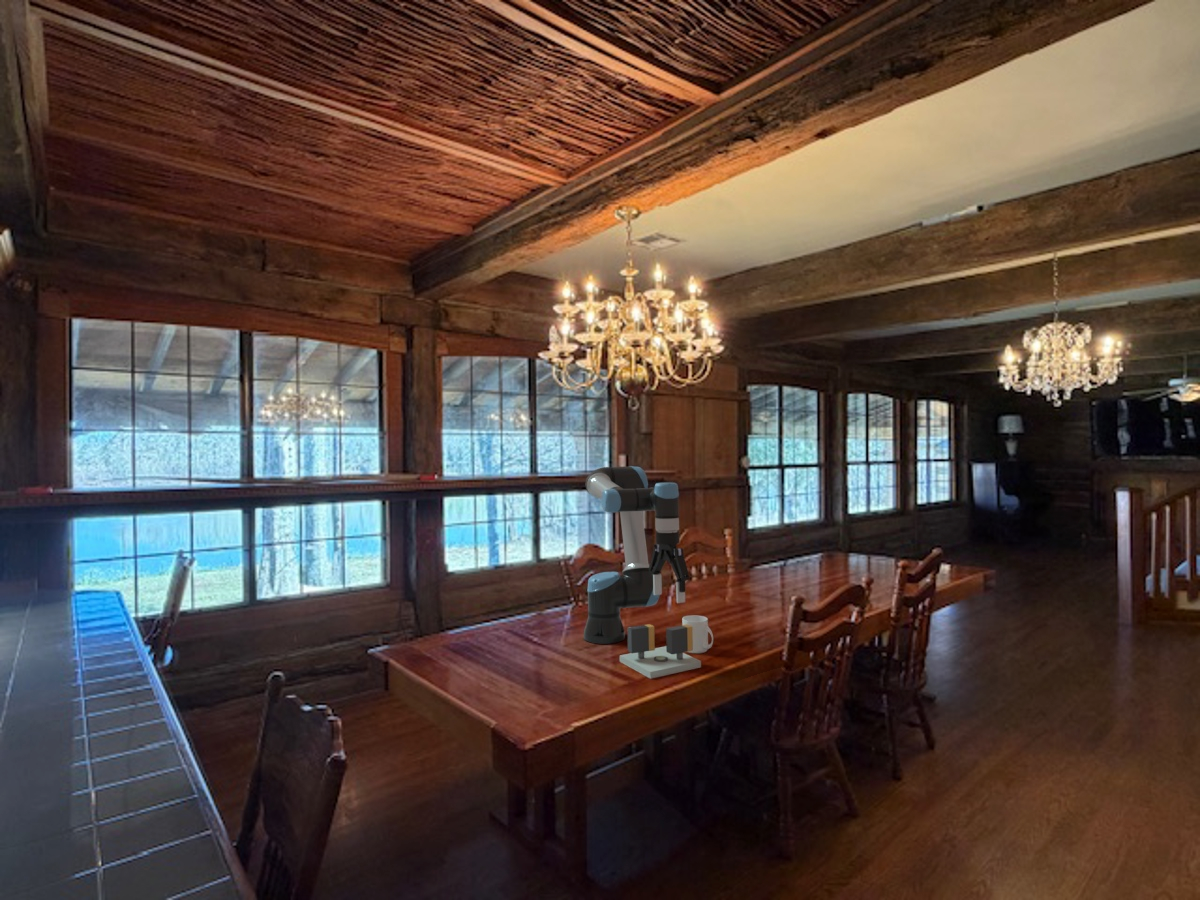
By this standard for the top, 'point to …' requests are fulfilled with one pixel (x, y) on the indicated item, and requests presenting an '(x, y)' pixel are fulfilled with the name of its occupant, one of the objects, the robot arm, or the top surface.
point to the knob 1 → (641, 639)
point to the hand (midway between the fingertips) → (668, 598)
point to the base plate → (659, 663)
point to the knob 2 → (679, 640)
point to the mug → (699, 632)
